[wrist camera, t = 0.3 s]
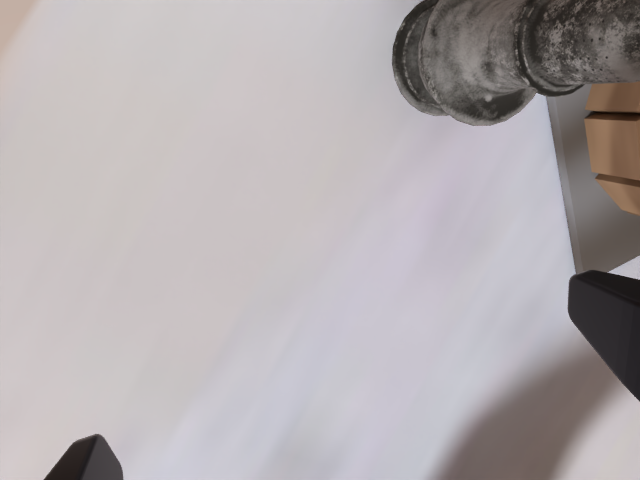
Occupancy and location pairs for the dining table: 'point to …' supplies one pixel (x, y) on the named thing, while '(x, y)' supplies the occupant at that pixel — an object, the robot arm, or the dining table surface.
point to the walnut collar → (600, 171)
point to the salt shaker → (511, 53)
